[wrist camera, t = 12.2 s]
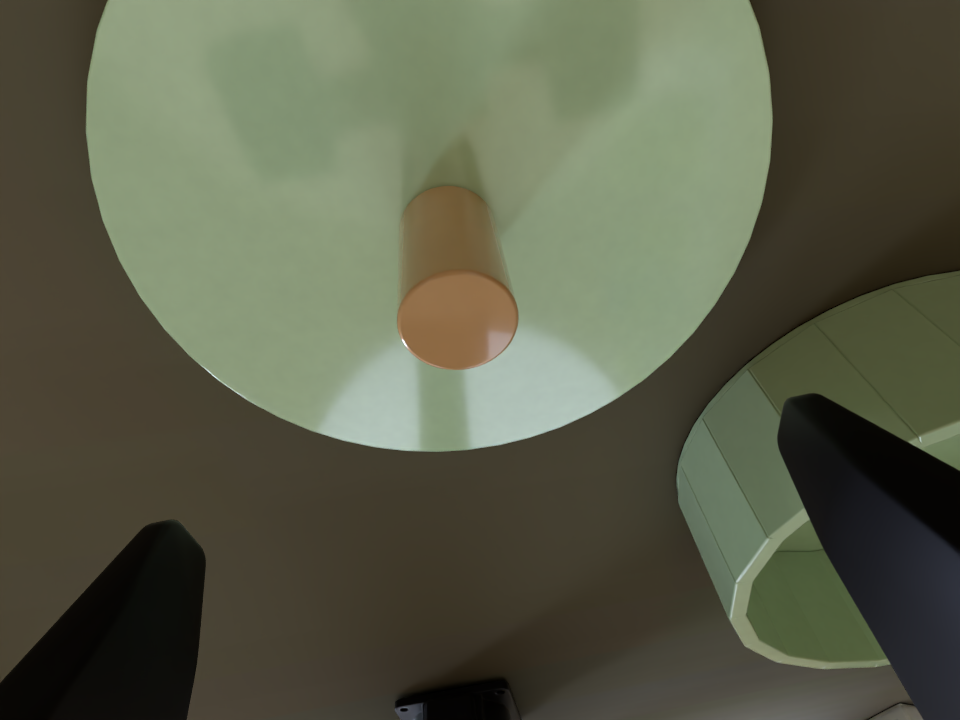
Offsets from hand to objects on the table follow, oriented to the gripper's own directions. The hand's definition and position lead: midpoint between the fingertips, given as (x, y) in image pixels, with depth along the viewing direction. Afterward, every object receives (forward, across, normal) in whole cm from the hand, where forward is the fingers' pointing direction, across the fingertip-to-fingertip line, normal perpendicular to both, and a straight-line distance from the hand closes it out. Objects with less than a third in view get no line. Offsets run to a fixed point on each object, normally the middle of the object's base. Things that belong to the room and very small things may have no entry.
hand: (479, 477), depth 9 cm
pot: (+9, -14, +13) cm, 21 cm away
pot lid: (+8, 0, 0) cm, 8 cm away
